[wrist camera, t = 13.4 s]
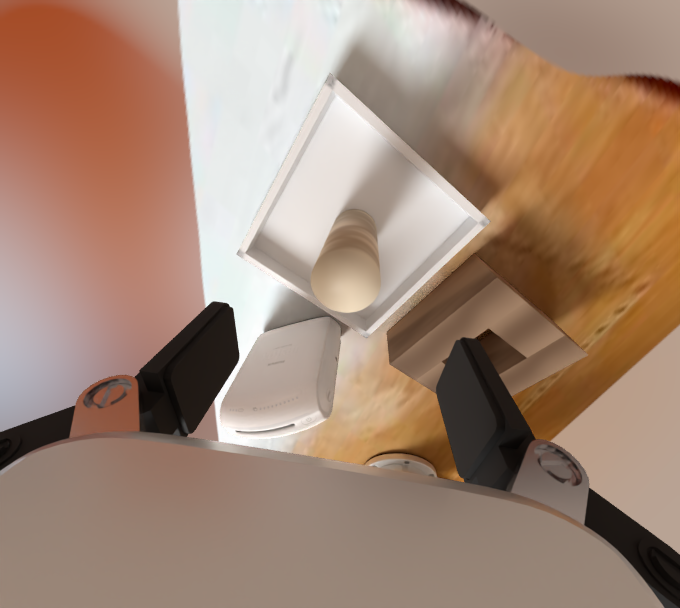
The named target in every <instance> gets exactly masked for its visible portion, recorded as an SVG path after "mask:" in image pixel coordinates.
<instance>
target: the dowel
mask: <svg viewBox="0 0 680 608" xmlns="http://www.w3.org/2000/svg"><path fill="white" fill-rule="evenodd" d="M311 287H312V290H313V293H314V295H315V296H316V298H317V299H318V300H319V301H320V302H321V303H322V304H323V305H324V306H326V307H328V308H329V309H332V310H334V311H337V312H343V313H351V312H357V311H360V310H362V309H364V308H366V307H368V306H369V305H370V304H371V303H373V301H374V300H375V299H376V297H377V296H378V294H379V291H380V287H381V277H380V264H379V252H378V239H377V228H376V224H375V221H374V220H373V218H372V217H371V216H370V215H369V214H368V213H366V212H365V211H363V210H359V209H350V210H346V211H344V212H342V213H341V214H340V215H339V216H338V217H337V218H336V220H335V221H334V224H333V226H332V228H331V230H330V232H329V235H328V237H327V239H326V241H325V243H324V246H323V248H322V250H321V252H320V254H319V257H318V259H317V261H316V263H315V265H314V268H313V270H312V273H311Z"/></svg>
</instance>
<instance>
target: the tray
mask: <svg viewBox="0 0 680 608" xmlns="http://www.w3.org/2000/svg"><path fill="white" fill-rule="evenodd" d="M350 209H359V210H363V211H365V212H366V213H368V214H369V215H370V216H371V217H372V218H373V220H374V221H375V224H376V228H377V239H378V252H379V264H380V277H381V287H380V291H379V294H378V296H377V297H376V299H375V300H374V301H373V303H371V304H370V305H369V306H368V307H366V308H364V309H362V310H360V311H357V312H351V313H343V312H337V311H334V310H332V309H329V308H328V307H326V306H324V305H323V304H322V303H321V302H320V301H319V300H318V299H317V298H316V296H315V295H314V293H313V290H312V287H311V273H312V270H313V268H314V265H315V263H316V261H317V259H318V257H319V254H320V252H321V250H322V248H323V246H324V243H325V241H326V239H327V237H328V235H329V232H330V230H331V228H332V226H333V224H334V221H335V220H336V218H337V217H338V216H339V215H340V214H341V213H342V212H344V211H346V210H350ZM489 222H491V221H490V220H489V219H487V218H486V217H485V216H484V215H483V214H482V213H481V212H480V211H479V210H478V209H477V208H476V207H474V206H473V205H472V204H471V203H470V202H469V201H468V200H467V199H466V198H465V197H464V196H463V195H462V194H460V193H459V192H458V191H457V190H456V189H455V188H454V187H453V186H452V185H451V184H450V183H449V182H447V181H446V180H445V179H444V178H443V177H442V176H441V175H440V174H439V173H438V172H437V171H436V170H434V169H433V168H432V167H431V166H430V165H429V164H428V163H427V162H426V161H425V160H424V159H423V158H422V157H420V156H419V155H418V154H417V153H416V152H415V151H414V150H413V149H412V148H411V147H410V146H409V145H407V144H406V143H405V142H404V141H403V140H402V139H401V138H400V137H399V136H398V135H397V134H396V133H395V132H393V131H392V130H391V129H390V128H389V127H388V126H387V125H386V124H385V123H384V122H383V121H382V120H380V119H379V118H378V117H377V116H376V115H375V114H374V113H373V112H372V111H371V110H370V109H369V108H367V107H366V106H365V105H364V104H363V103H362V102H361V101H360V100H359V99H358V98H357V97H356V96H355V95H353V94H352V93H351V92H350V91H349V90H348V89H347V88H346V87H345V86H344V85H343V84H342V83H340V82H339V81H338V80H337V79H336V78H335V77H334V76H333V75H332V74H331V73H330V74H329V76H328V78H327V80H326V81H325V83H324V85H323V87H322V89H321V91H320V93H319V95H318V97H317V99H316V101H315V103H314V105H313V107H312V109H311V111H310V113H309V114H308V116H307V118H306V120H305V122H304V124H303V126H302V128H301V130H300V132H299V134H298V136H297V138H296V140H295V142H294V144H293V146H292V147H291V149H290V151H289V153H288V155H287V157H286V159H285V161H284V163H283V165H282V167H281V169H280V171H279V173H278V175H277V177H276V179H275V180H274V182H273V184H272V186H271V188H270V190H269V192H268V194H267V196H266V198H265V200H264V202H263V204H262V206H261V208H260V210H259V212H258V213H257V215H256V217H255V219H254V221H253V223H252V225H251V227H250V229H249V231H248V233H247V235H246V237H245V239H244V241H243V243H242V245H241V246H240V248H239V250H238V252H237V255H238V256H240V257H241V258H243V259H244V260H246V261H248V262H249V263H251V264H252V265H254V266H255V267H257V268H258V269H260V270H262V271H263V272H265V273H266V274H268V275H269V276H271V277H272V278H274V279H276V280H277V281H279V282H280V283H282V284H283V285H285V286H286V287H288V288H290V289H291V290H293V291H294V292H296V293H297V294H299V295H300V296H302V297H304V298H305V299H307V300H308V301H310V302H311V303H313V304H314V305H316V306H318V307H319V308H321V309H322V310H324V311H325V312H327V313H328V314H330V315H332V316H333V317H335V318H336V319H338V320H339V321H341V322H342V323H344V324H346V325H347V326H349V327H350V328H352V329H353V330H355V331H356V332H358V333H360V334H361V335H363V336H364V337H366V338H367V337H368V336H369V335H370V334H372V333H373V332H374V331H375V330H376V329H377V328H378V327H379V326H380V325H381V324H382V323H383V322H384V321H385V320H386V319H387V318H389V317H390V316H391V315H392V314H393V313H394V312H395V311H396V310H397V309H398V308H399V307H400V306H401V305H402V304H403V303H404V302H406V301H407V300H408V299H409V298H410V297H411V296H412V295H413V294H414V293H415V292H416V291H417V290H418V289H419V288H420V287H421V286H423V285H424V284H425V283H426V282H427V281H428V280H429V279H430V278H431V277H432V276H433V275H434V274H435V273H436V272H437V271H438V270H440V269H441V268H442V267H443V266H444V265H445V264H446V263H447V262H448V261H449V260H450V259H451V258H452V257H453V256H454V255H455V254H457V253H458V252H459V251H460V250H461V249H462V248H463V247H464V246H465V245H466V244H467V243H468V242H469V241H470V240H471V239H472V238H474V237H475V236H476V235H477V234H478V233H479V232H480V231H481V230H482V229H483V228H484V227H485V226H486V225H487V224H488V223H489Z"/></svg>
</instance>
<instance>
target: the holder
mask: <svg viewBox="0 0 680 608" xmlns="http://www.w3.org/2000/svg"><path fill="white" fill-rule="evenodd" d="M488 328H489V329H490V330H491V331H493V332H491V333H490V334H489V335H487V336H486V337H484V338H483V339H481V340H480V343H481V345H482V346H483V348H484V350H485V352H486V353H487V355H488V357H489V358H490V360H491V362H492V364H493V365H494V367H495V369H496V371H497V372H498V374H499V376H500V377H501V379H502V381H503V383H504V384H505V386H506V388H507V389H508V391H509V393H510V395H511V396H513V395H515V394H517V393H519V392H521V391H523V390H524V389H526V388H528V387H530V386H532V385H534V384H536V383H537V382H539V381H541V380H543V379H545V378H547V377H549V376H550V375H552V374H554V373H556V372H558V371H560V370H562V369H563V368H565V367H567V366H569V365H571V364H573V363H575V362H577V361H578V360H580V359H582V358H584V357H586V356H588V354H587V353H586V352H585V351H584V350H583V349H582V348H581V347H579V346H578V345H577V344H576V343H575V342H574V341H573V340H572V339H571V338H570V337H569V336H568V335H567V334H566V333H565V332H564V331H563V330H562V329H561V328H560V327H559V326H558V325H557V324H556V323H555V322H554V321H552V320H551V319H550V318H549V317H548V316H547V315H545V314H544V313H543V312H542V311H541V310H540V309H538V308H537V307H536V306H535V305H534V304H533V303H531V302H530V301H529V300H528V299H527V298H526V297H524V296H523V295H522V294H521V293H520V292H519V291H518V290H516V289H515V288H514V287H513V286H512V285H511V284H509V283H508V282H507V281H506V280H505V279H504V278H502V277H501V276H500V275H499V274H498V273H497V272H495V271H494V270H493V269H492V268H491V267H490V266H488V265H487V264H486V263H485V262H484V261H483V260H481V259H480V258H479V257H478V256H477V255H476V254H473V255H472V256H471V257H470V258H469V259H467V260H466V261H465V262H464V263H463V264H462V265H461V266H460V267H459V268H457V269H456V270H455V271H454V272H453V273H452V274H451V275H450V276H449V277H448V278H446V279H445V280H444V281H443V282H442V283H441V284H440V285H439V286H438V287H436V288H435V289H434V290H433V291H432V292H431V293H430V294H429V295H428V296H427V297H425V298H424V299H423V300H422V301H421V302H420V303H419V304H418V305H417V306H415V307H414V308H413V309H412V310H411V311H410V312H409V313H408V314H407V315H406V316H404V317H403V318H402V319H401V320H400V321H399V322H398V323H397V324H396V325H394V326H393V327H392V328H391V329H390V330H389V331H388V332H387V341H388V351H389V362H390V365H392V366H393V367H395V368H396V369H398V370H400V371H401V372H403V373H404V374H406V375H407V376H409V377H411V378H412V379H414V380H415V381H417V382H419V383H420V384H422V385H423V386H425V387H427V388H428V389H430V390H431V391H433V392H435V393H436V386H437V383H438V381H439V378H440V376H441V374H442V371H443V369H444V367H445V364H446V362H447V360H448V357H449V355H450V353H451V350H452V348H453V346H454V343H455V341H456V340H460V339H461V338H462V337H466V338H473V339H474V338H476V337H477V336H478V335H480V334H481V333H483V332H484V331H485V330H487V329H488Z"/></svg>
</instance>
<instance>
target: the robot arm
mask: <svg viewBox="0 0 680 608" xmlns="http://www.w3.org/2000/svg"><path fill="white" fill-rule="evenodd" d="M238 361H239V349H238V341H237V334H236V327H235V319H234V312H233V308H232V307H230V306H229V304H227V303H222V302H212V303H211V304H209V305H208V306H207V307H206V308H205V309H204V310H203V311H202V312H201V313H200V314H199V315H198V316H197V317H196V318H195V319H194V320H192V321H191V322H190V323H189V324H188V325H187V326H186V327H185V328H184V329H183V330H182V331H181V332H180V333H179V334H178V335H177V336H176V337H175V338H173V340H171V341H170V342H169V343H168V344H167V345H166V346H165V347H164V348H163V349H162V350H161V351H160V352H158V354H156V355H155V356H154V357H153V358H152V359H151V360H150V361H149V362H148V363H147V364H146V365H145V366H144V367H143V368H141V369H140V372H139V373H138V374H137V375H136V376H135V377H133V376H129V375H116V376H111V377H108V378H105V379H102V380H100V381H98V382H96V383H94V384H92V385H91V386H90V387H88V388H87V389H85V390H84V391H83V392H82V394H81V395H80V396H79V397H78V399H77V402H76V405H75V406H72V407H69V408H67V409H64V410H61V411H58V412H55V413H53V414H50V415H47V416H44V417H41V418H39V419H36V420H33V421H30V422H28V423H25V424H22V425H19V426H16V427H14V428H11V429H8V430H5V431H3V432H0V608H680V555H679V554H678V553H677V552H676V551H675V550H673V549H672V548H671V547H670V546H668V545H667V544H666V543H664V542H663V541H662V540H660V539H659V538H657V537H656V536H655V535H653V534H652V533H651V532H649V531H648V530H647V529H645V528H644V527H642V526H641V525H640V524H638V523H637V522H636V521H634V520H633V519H631V518H630V517H629V516H627V515H626V514H624V513H623V512H622V511H620V510H619V509H617V508H616V507H615V506H614V505H612V504H611V503H610V502H608V501H607V500H605V499H604V498H603V497H601V496H600V495H599V494H597V493H596V492H595V491H593V490H592V489H590V488H589V479H588V476H587V474H586V472H585V470H584V468H583V467H582V466H581V464H580V463H579V462H578V461H577V460H576V459H575V458H574V457H573V456H572V455H571V454H570V453H569V452H567V451H566V450H565V449H563V448H562V447H560V446H558V445H556V444H554V443H552V442H550V441H547V440H540V439H537V440H536V439H535V437H534V435H533V434H532V431H531V429H530V427H529V426H528V424H527V422H526V421H525V419H524V417H523V415H522V414H521V412H520V410H519V408H518V407H517V405H516V403H515V402H514V400H513V398H512V396H511V395H510V393H509V391H508V389H507V388H506V386H505V384H504V383H503V381H502V379H501V377H500V376H499V374H498V372H497V371H496V369H495V367H494V365H493V364H492V362H491V360H490V358H489V357H488V355H487V353H486V352H485V350H484V348H483V346H482V345H481V343H480V341H479V340H478V339H473V338H466V337H462V338H461V339H460V340H456V341H455V343H454V346H453V348H452V350H451V353H450V355H449V357H448V360H447V362H446V364H445V367H444V369H443V371H442V374H441V376H440V378H439V381H438V383H437V386H436V394H437V398H438V402H439V405H440V409H441V413H442V416H443V420H444V424H445V427H446V431H447V435H448V438H449V442H450V445H451V449H452V453H453V456H454V460H455V464H456V467H457V471H458V474H459V476H460V477H461V478H464V482H465V483H464V482H459V481H453V480H448V479H443V478H437V474H436V470H435V468H434V467H433V465H432V464H430V463H429V462H428V461H426V460H424V459H423V458H420V457H417V456H414V455H410V454H402V453H392V454H384V455H380V456H377V457H374V458H372V459H370V460H369V461H368V462H366V464H365V465H360V464H354V463H348V462H342V461H336V460H330V459H323V458H317V457H311V456H305V455H299V454H293V453H286V452H280V451H274V450H268V449H261V448H255V447H249V446H242V445H236V444H229V443H223V442H216V441H210V440H204V439H197V438H189V437H187V436H188V434H191V433H193V432H194V431H195V430H196V428H197V426H198V425H199V423H200V422H201V420H202V419H203V417H204V415H205V414H206V412H207V411H208V409H209V407H210V406H211V404H212V403H213V401H214V400H215V398H216V396H217V395H218V393H219V392H220V390H221V388H222V387H223V385H224V384H225V382H226V381H227V379H228V377H229V376H230V374H231V373H232V371H233V370H234V368H235V366H236V365H237V363H238Z"/></svg>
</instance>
